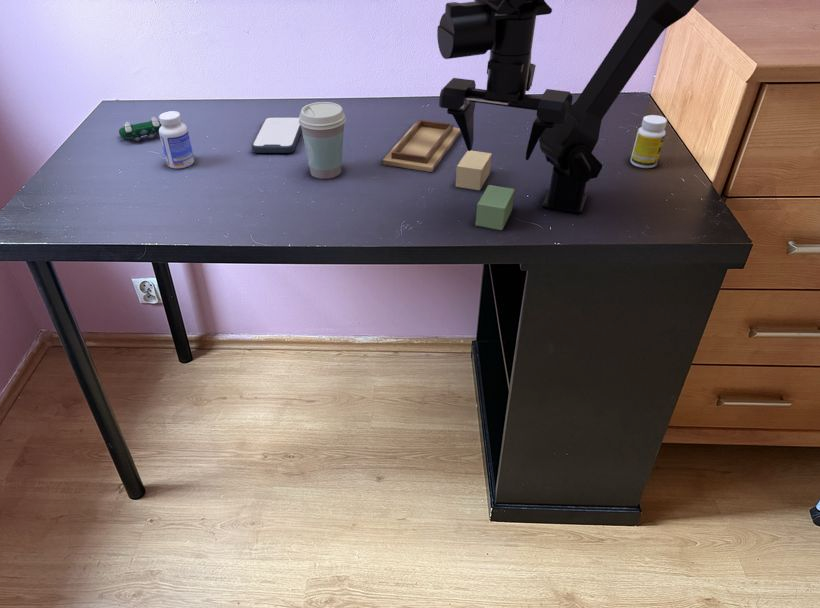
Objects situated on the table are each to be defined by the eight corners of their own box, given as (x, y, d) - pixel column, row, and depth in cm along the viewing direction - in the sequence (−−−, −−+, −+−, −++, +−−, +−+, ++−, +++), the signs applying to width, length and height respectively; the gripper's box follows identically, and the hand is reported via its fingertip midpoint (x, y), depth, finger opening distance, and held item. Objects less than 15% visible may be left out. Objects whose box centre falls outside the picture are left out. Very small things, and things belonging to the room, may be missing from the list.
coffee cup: (313, 160, 129) (308, 98, 121) (354, 165, 127) (352, 102, 119) (296, 179, 123) (289, 116, 115) (339, 185, 121) (335, 121, 113)
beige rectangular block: (479, 190, 118) (481, 169, 115) (455, 186, 119) (456, 165, 116) (489, 173, 122) (491, 153, 120) (466, 170, 124) (467, 149, 121)
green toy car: (123, 148, 141) (121, 136, 135) (118, 131, 141) (116, 119, 135) (166, 139, 144) (166, 128, 138) (161, 123, 144) (160, 111, 138)
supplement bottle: (658, 169, 121) (671, 125, 116) (631, 168, 122) (642, 123, 116) (654, 158, 125) (667, 114, 119) (628, 157, 125) (639, 113, 120)
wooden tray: (432, 172, 124) (432, 161, 122) (382, 164, 127) (382, 153, 125) (460, 133, 137) (461, 122, 135) (415, 126, 140) (415, 116, 138)
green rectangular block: (502, 230, 107) (505, 208, 104) (475, 225, 109) (477, 203, 106) (512, 210, 112) (515, 188, 109) (486, 205, 113) (488, 184, 111)
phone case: (265, 124, 144) (250, 154, 132) (264, 116, 143) (249, 146, 131) (305, 124, 144) (294, 154, 131) (305, 116, 143) (293, 146, 130)
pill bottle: (200, 159, 131) (190, 111, 125) (183, 171, 128) (172, 122, 121) (177, 155, 133) (167, 107, 127) (161, 166, 129) (149, 118, 123)
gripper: (588, 39, 95) (568, 143, 106) (464, 28, 102) (457, 126, 112) (573, 63, 88) (554, 172, 98) (440, 49, 94) (435, 153, 104)
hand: (498, 154), depth 103 cm, fingers open, 9 cm apart
